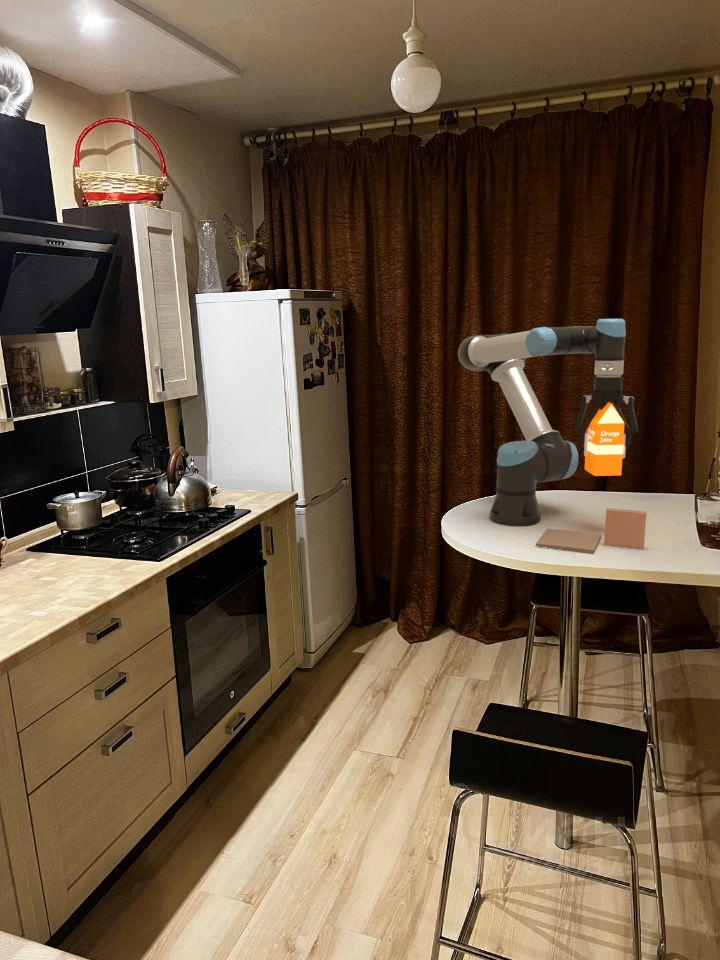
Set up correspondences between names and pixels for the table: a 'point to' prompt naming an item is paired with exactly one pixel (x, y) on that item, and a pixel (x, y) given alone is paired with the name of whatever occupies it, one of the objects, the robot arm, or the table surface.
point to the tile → (625, 528)
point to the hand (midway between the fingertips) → (604, 456)
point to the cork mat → (569, 540)
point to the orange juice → (605, 443)
